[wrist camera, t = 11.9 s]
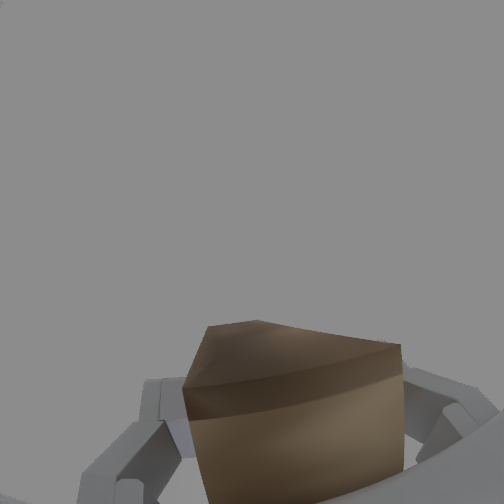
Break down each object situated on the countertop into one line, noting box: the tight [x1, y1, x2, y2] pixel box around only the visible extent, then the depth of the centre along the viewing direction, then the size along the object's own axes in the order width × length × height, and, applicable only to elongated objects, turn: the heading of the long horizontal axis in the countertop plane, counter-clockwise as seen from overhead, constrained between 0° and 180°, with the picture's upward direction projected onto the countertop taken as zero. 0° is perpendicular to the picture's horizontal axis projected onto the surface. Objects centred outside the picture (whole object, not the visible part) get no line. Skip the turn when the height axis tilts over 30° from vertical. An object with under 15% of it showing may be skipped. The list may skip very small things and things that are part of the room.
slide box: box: [182, 320, 405, 504], centre depth 14 cm, size 4×20×3 cm, turn 7°
